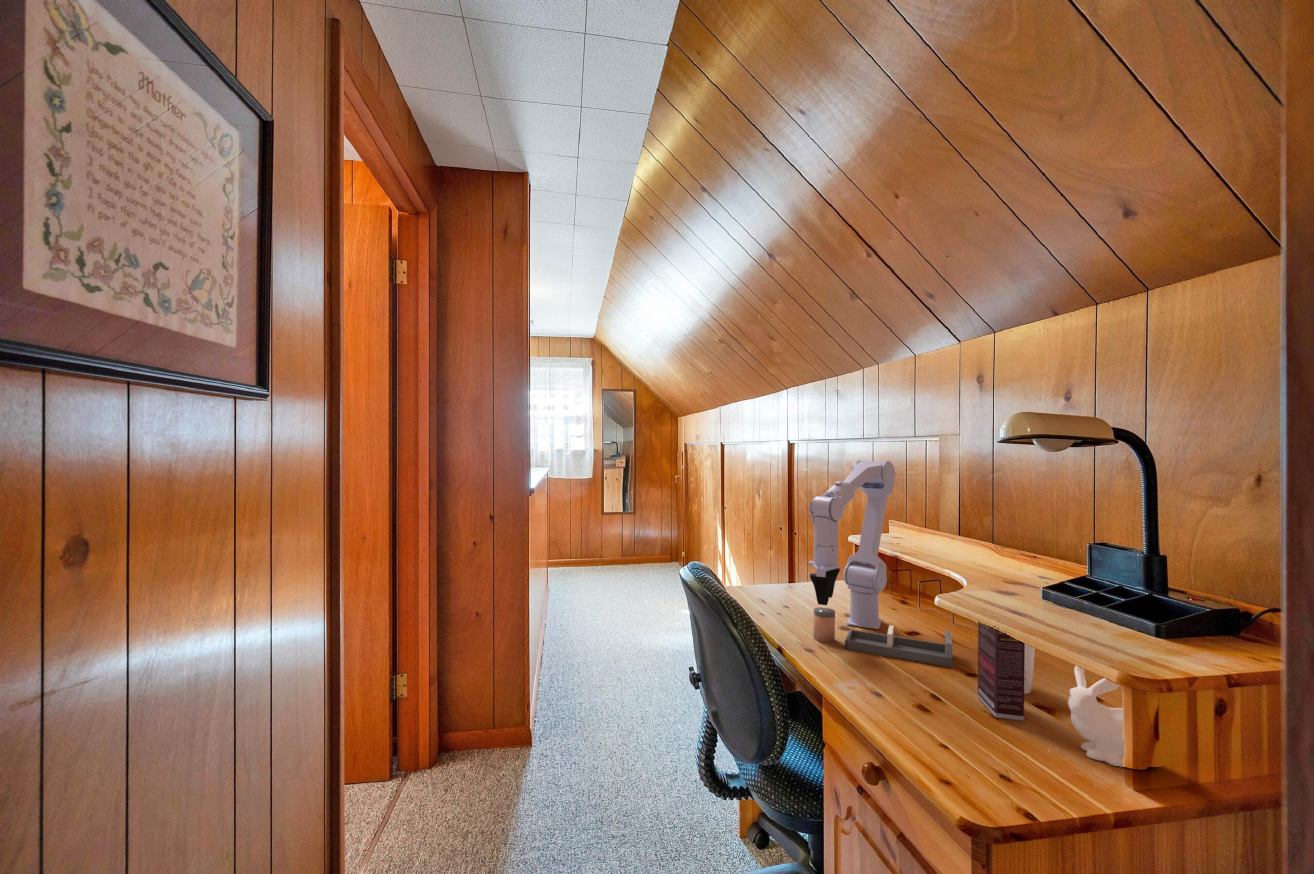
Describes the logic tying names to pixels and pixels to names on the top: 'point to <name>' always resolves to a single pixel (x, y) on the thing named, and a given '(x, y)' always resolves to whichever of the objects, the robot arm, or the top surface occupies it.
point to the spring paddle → (890, 636)
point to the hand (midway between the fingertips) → (825, 600)
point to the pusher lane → (902, 647)
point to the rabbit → (1097, 720)
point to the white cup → (1028, 668)
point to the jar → (824, 625)
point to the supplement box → (1001, 673)
